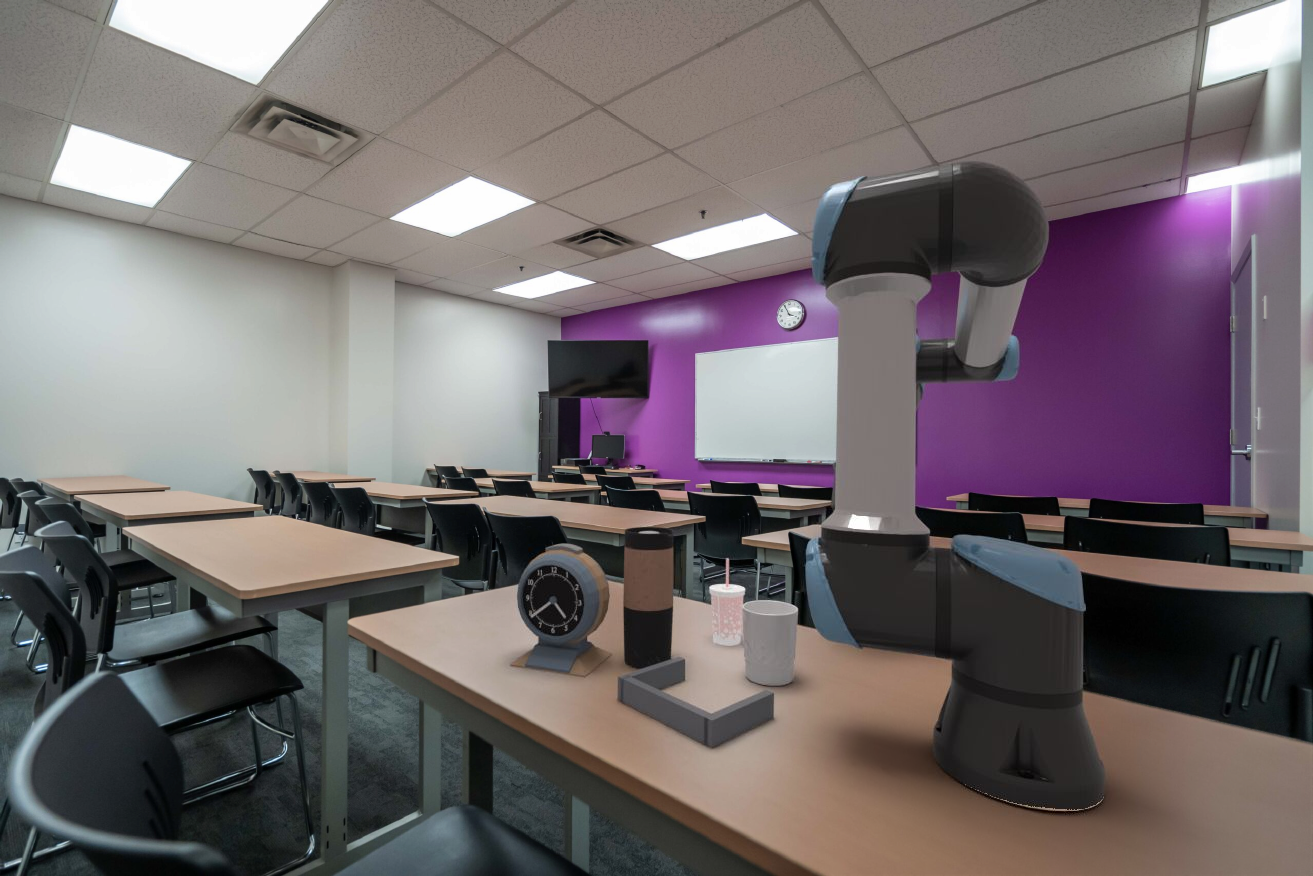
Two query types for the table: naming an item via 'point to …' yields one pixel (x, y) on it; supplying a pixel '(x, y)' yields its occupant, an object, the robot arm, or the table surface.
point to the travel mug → (648, 596)
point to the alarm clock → (563, 610)
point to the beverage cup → (726, 611)
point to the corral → (684, 717)
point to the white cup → (769, 641)
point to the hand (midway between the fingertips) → (838, 551)
